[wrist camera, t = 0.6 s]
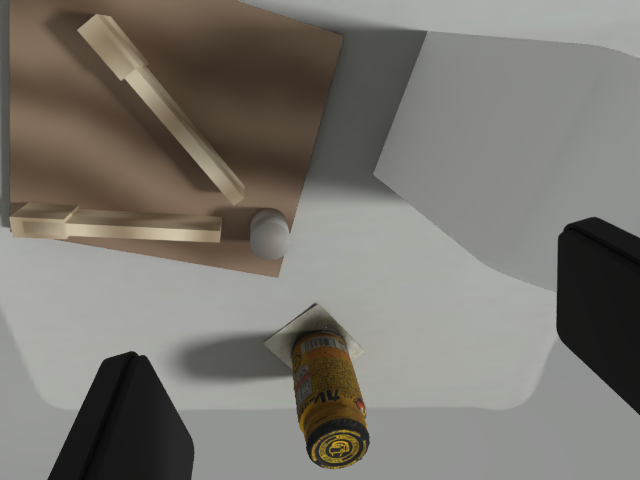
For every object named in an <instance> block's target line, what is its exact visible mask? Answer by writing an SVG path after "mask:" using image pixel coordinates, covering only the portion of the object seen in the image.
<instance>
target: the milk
mask: <svg viewBox="0 0 640 480" xmlns="http://www.w3.org/2000/svg"><path fill="white" fill-rule="evenodd" d="M373 175H374V176H376V177H377V178H378V179H379V180H380V181H382V182H383V183H384V184H385V185H387V186H388V187H389V188H390V189H392V190H393V191H394V192H395V193H396V194H398V195H399V196H400V197H401V198H403V199H404V200H405V201H406V202H408V203H409V204H410V205H411V206H413V207H414V208H415V209H416V210H417V211H419V212H420V213H421V214H422V215H424V216H425V217H426V218H427V219H429V220H430V221H431V222H432V223H434V224H435V225H436V226H437V227H438V228H440V229H441V230H442V231H443V232H445V233H446V234H447V235H448V236H450V237H451V238H452V239H453V240H455V241H456V242H457V243H458V244H459V245H461V246H462V247H463V248H464V249H466V250H467V251H468V252H469V253H471V254H472V255H473V256H474V257H476V258H477V259H478V260H480V261H481V262H482V263H484V264H485V265H487V266H489V267H491V268H493V269H495V270H497V271H499V272H501V273H504V274H506V275H508V276H511V277H513V278H516V279H519V280H522V281H524V282H527V283H530V284H533V285H536V286H539V287H542V288H545V289H548V290H551V291H554V292H557V253H558V236H559V234H560V233H562V232H563V229H564V227H565V226H566V225H567V224H569V223H573V222H576V221H580V220H583V219H587V218H590V217H597V218H600V219H602V220H604V221H606V222H608V223H610V224H613V225H615V226H617V227H619V228H621V229H623V230H625V231H627V232H629V233H631V234H633V235H635V236H637V237H639V238H640V59H639V58H637V57H634V56H631V55H628V54H626V53H623V52H620V51H617V50H613V49H609V48H606V47H602V46H595V45H589V44H577V43H565V42H553V41H541V40H529V39H517V38H505V37H493V36H481V35H469V34H457V33H445V32H433V31H428V32H427V35H426V37H425V40H424V42H423V45H422V48H421V50H420V53H419V55H418V58H417V61H416V63H415V66H414V68H413V71H412V74H411V76H410V79H409V82H408V84H407V87H406V89H405V92H404V95H403V97H402V100H401V102H400V105H399V108H398V110H397V113H396V116H395V118H394V121H393V123H392V126H391V129H390V131H389V134H388V136H387V139H386V142H385V144H384V147H383V150H382V152H381V155H380V157H379V160H378V163H377V165H376V168H375V170H374V173H373Z"/></svg>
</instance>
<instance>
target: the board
mask: <svg viewBox="0 0 640 480" xmlns="http://www.w3.org/2000/svg"><path fill="white" fill-rule="evenodd" d="M96 14H99V15H105V16H111V17H112V19H113V20H114V21H115V22H116V23H117V25H118V26H119V27H120V28H121V30H122V31H123V32H124V33H125V35H126V36H127V37H128V38H129V39H130V41H131V42H132V43H133V44H134V46H135V47H136V48H137V49H138V50H139V52H140V53H141V54H142V55H143V57H144V58H145V59H146V60H147V62H148V63H149V64H148V65H147V66H146V67H147V68H148V69H149V70H150V72H151V73H152V74H153V75H154V77H155V78H156V79H157V80H158V81H159V83H160V84H161V85H162V86H163V88H164V89H165V90H166V91H167V92H168V94H169V95H170V96H171V97H172V98H173V100H174V101H175V102H176V103H177V105H178V106H179V107H180V108H181V109H182V111H183V112H184V113H185V114H186V116H187V117H188V118H189V119H190V120H191V122H192V123H193V124H194V125H195V127H196V128H197V129H198V130H199V131H200V133H201V134H202V135H203V136H204V137H205V139H206V140H207V141H208V142H209V144H210V145H211V146H212V147H213V148H214V150H215V151H216V152H217V153H218V155H219V156H220V157H221V158H222V159H223V161H224V162H225V163H226V164H227V166H228V167H229V168H230V169H231V170H232V172H233V173H234V174H235V175H236V176H237V178H238V179H239V180H240V181H241V183H242V184H243V185H244V186H245V188H244V199H242V200H241V201H240V202H238V203H237V204H235V205H234V206H233V204H232V203H231V202H230V201H229V200H228V199H227V197H226V196H225V195H224V194H223V193H222V192H221V190H220V189H219V188H218V187H217V186H216V185H215V183H214V182H213V181H212V180H211V179H210V178H209V176H208V175H207V174H206V173H205V172H204V171H203V169H202V168H201V167H200V166H199V165H198V164H197V162H196V161H195V160H194V159H193V158H192V157H191V155H190V154H189V153H188V152H187V151H186V150H185V148H184V147H183V146H182V145H181V144H180V143H179V141H178V140H177V139H176V138H175V137H174V136H173V134H172V133H171V132H170V131H169V130H168V129H167V127H166V126H165V125H164V124H163V123H162V122H161V120H160V119H159V118H158V117H157V116H156V115H155V113H154V112H153V111H152V110H151V109H150V108H149V106H148V105H147V104H146V103H145V102H144V101H143V99H142V98H141V97H140V96H139V95H138V94H137V92H136V91H135V90H134V89H133V88H132V87H131V85H130V84H129V83H128V82H127V81H126V79H125V80H122V81H121V80H120V79H119V78H118V77H117V76H116V75H115V74H114V72H113V71H112V70H111V69H110V68H109V67H108V65H107V64H106V63H105V62H104V61H103V60H102V58H101V57H100V56H99V55H98V54H97V53H96V52H95V50H94V49H93V48H92V47H91V46H90V45H89V43H88V42H87V41H86V40H85V39H84V38H83V36H82V35H81V34H80V33H79V32H78V31H77V30H78V29H79V28H80V27H81V26H83V25H84V24H85V23H86V22H87V21H89V20H90V19H91V18H92V17H93V16H95V15H96ZM343 38H344V36H342V35H339V34H336V33H333V32H330V31H327V30H324V29H321V28H318V27H315V26H311V25H308V24H305V23H302V22H299V21H296V20H293V19H290V18H287V17H284V16H281V15H278V14H275V13H272V12H269V11H265V10H262V9H259V8H256V7H253V6H250V5H247V4H244V3H241V2H238V1H235V0H9V58H10V216H11V215H12V214H14V213H15V212H16V211H18V210H19V209H21V208H22V207H23V206H25V205H26V204H28V203H45V204H63V205H79V209H89V210H107V211H125V212H143V213H161V214H179V215H197V216H215V217H222V230H221V236H220V242H219V243H217V242H195V241H173V240H151V239H128V238H106V237H84V236H69V237H68V238H67V239H55V240H61V241H67V242H72V243H78V244H84V245H90V246H96V247H102V248H107V249H113V250H119V251H125V252H131V253H137V254H143V255H148V256H154V257H160V258H166V259H172V260H178V261H184V262H189V263H195V264H201V265H207V266H213V267H219V268H225V269H230V270H236V271H242V272H248V273H254V274H260V275H266V276H271V277H277V278H278V275H279V272H280V268H281V264H282V261H283V257H284V256H282V257H281V258H279V259H276V260H264V259H261V258H259V257H258V256H257V255H255V253H254V252H253V251H252V249H251V245H250V223H251V219H252V217H253V215H254V214H255V213H256V212H257V211H259V210H261V209H263V208H275V209H277V210H279V211H281V212H282V213H283V214H284V215H285V217H286V220H287V224H288V229H289V234H290V232H291V228H292V224H293V221H294V217H295V213H296V210H297V206H298V202H299V199H300V195H301V191H302V188H303V184H304V181H305V177H306V173H307V170H308V166H309V162H310V159H311V155H312V151H313V148H314V144H315V140H316V137H317V133H318V129H319V126H320V122H321V118H322V115H323V111H324V107H325V104H326V100H327V97H328V93H329V89H330V86H331V82H332V78H333V75H334V71H335V67H336V64H337V60H338V56H339V53H340V49H341V45H342V42H343ZM10 232H12V229H11V224H10Z"/></svg>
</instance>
